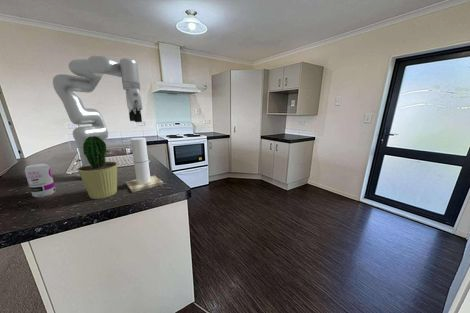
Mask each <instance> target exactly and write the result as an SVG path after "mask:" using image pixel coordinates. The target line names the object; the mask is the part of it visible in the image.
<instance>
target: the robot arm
mask: <svg viewBox="0 0 470 313" xmlns="http://www.w3.org/2000/svg"><path fill="white" fill-rule="evenodd" d="M68 69H69V71H70V72H71V73H72V74H73V75H71V74H65V73H64V74H56V75H54V77H53V78H52V86H53V89H54V91H55V93H56V94H57V96H58V97H59V98H60V100H61V102H62V104H63V107H64V110H65V112H66V114H67V115H68V119H69V120H70V122H71V123H72V124H74V125H78V126H79V127H75V128H74V129H73V130H72V137H73V139H74V142H75V143H76V145H77V150H78V153H79V158H80V163H81V166H84V165H88V164H89V162H88V160H87V157H86V155H84V153H83V152H84V151H83V149H82V148H83V144H84V142H85V141H86V139H87V138H88V137H90V136H91V137H93V136H97V137H98V138H100V139H102V140H103V141H104V140H106V139H107V138H108V137H109V131H108V128H107V126H106V123H105V120H104V118H103V116H102V114H101V112H100V111H99V110H97V109H95V108H86V107H85V106H84V103H83V101H82V99H81V98H80V97H79V96H78V95H77V94H75V93H74V92H78V93H87V94H88V93H93V91H95V89H96V87H97V86H98V85H99V82H100V81H101V80H102V78H103V76H104V75H108V76H113V77H118V78H121V83H122V90H125V97H126V98H125V99H126V106H127V110H128V117H129V121H130V122H135V123H142V122H143V118H142V110H143V102H142V98H141V97H142V96H141V92H140V91H141V85H140V77H139V66H138V62H137V61H136V60H134V59H132V58H120V59H118V60H117V59H116V58H115V59H114V58H111V57H107V56H103V55H91V56H88V58H86V59H85V58H83V59H82V58H81V59H78V58H77V59H72V60H70V61H69V63H68ZM80 125H83V126H80ZM86 125H87V126H86ZM87 136H88V137H87ZM84 140H85V141H84ZM73 176H74V177H76V178H78V177H81V176H80V174H79V172H74V173H73Z"/></svg>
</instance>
